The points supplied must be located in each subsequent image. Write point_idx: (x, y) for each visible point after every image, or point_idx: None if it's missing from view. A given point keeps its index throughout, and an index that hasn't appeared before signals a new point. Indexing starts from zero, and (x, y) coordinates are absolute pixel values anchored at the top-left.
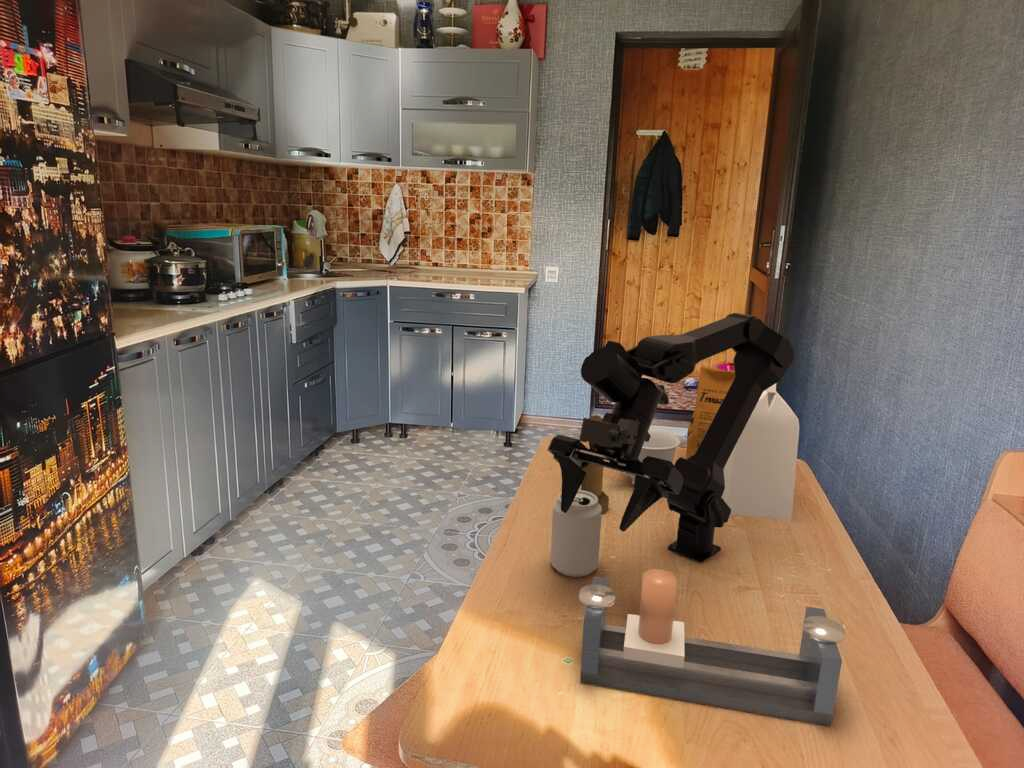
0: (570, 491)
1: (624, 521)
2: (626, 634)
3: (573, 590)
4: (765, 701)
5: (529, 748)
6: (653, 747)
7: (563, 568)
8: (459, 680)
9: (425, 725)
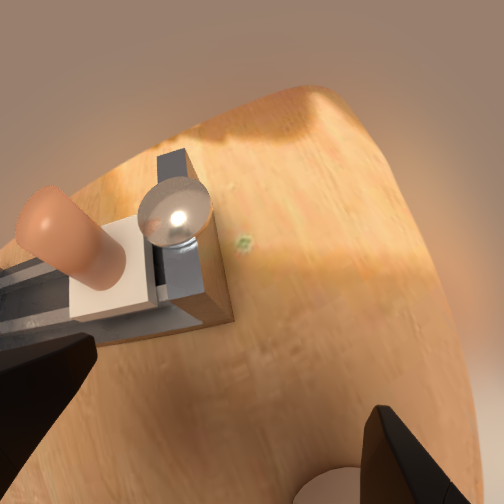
0: (388, 495)
1: (62, 340)
2: (141, 241)
3: (312, 435)
4: (28, 262)
5: (231, 118)
6: (125, 172)
7: (350, 469)
8: (348, 151)
9: (331, 101)
